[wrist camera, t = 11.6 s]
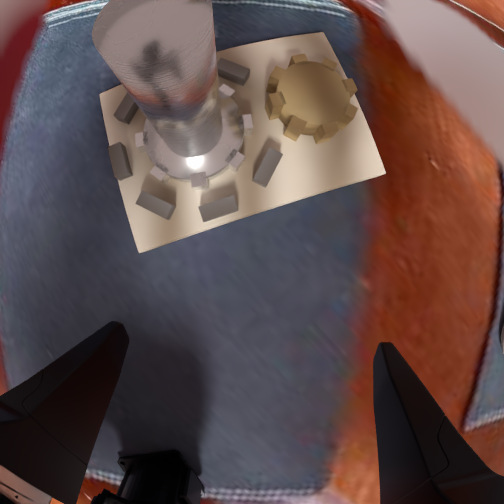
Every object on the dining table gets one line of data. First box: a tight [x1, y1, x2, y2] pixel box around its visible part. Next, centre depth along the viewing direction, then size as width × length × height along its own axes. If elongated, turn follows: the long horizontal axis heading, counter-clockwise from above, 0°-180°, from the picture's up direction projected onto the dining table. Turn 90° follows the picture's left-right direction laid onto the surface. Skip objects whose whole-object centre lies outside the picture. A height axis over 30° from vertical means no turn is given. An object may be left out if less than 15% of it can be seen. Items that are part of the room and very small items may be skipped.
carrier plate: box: [99, 32, 386, 253], centre depth 20 cm, size 19×13×4 cm
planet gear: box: [92, 0, 253, 191], centre depth 14 cm, size 8×8×14 cm
